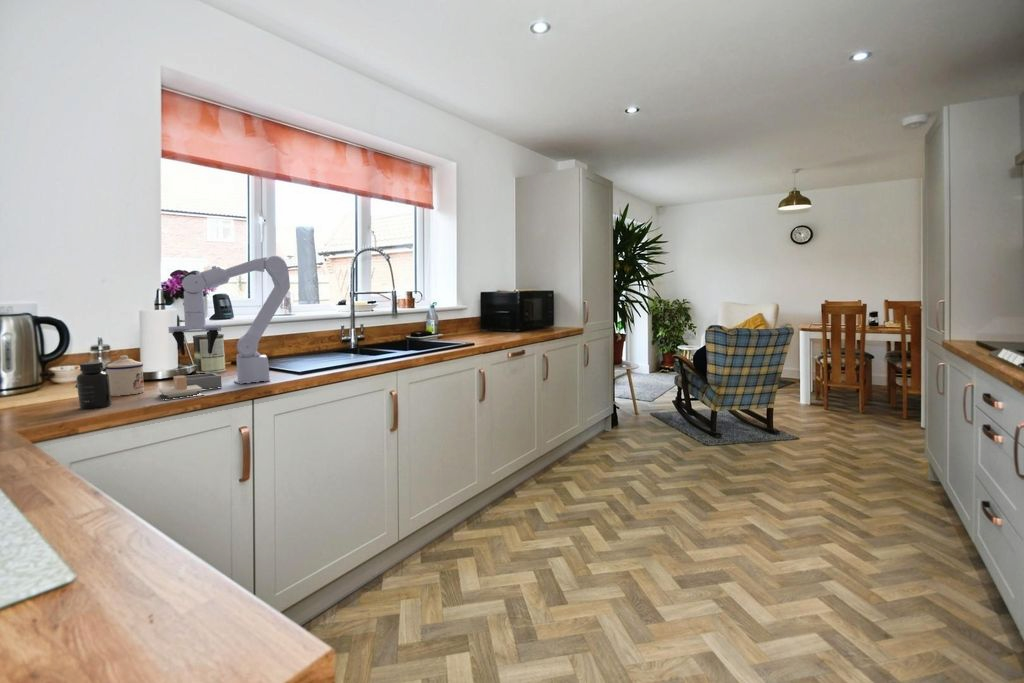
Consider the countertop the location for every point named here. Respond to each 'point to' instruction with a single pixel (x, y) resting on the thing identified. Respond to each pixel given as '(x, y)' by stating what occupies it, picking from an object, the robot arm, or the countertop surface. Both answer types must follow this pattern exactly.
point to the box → (204, 380)
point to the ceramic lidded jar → (125, 376)
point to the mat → (176, 396)
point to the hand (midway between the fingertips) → (196, 354)
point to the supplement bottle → (93, 386)
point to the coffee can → (206, 360)
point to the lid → (180, 388)
